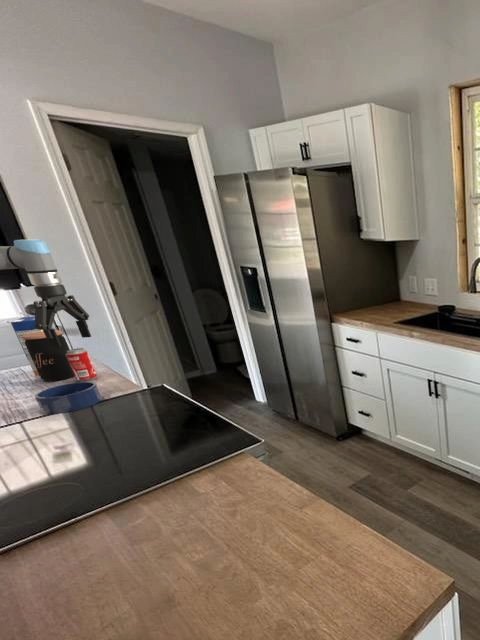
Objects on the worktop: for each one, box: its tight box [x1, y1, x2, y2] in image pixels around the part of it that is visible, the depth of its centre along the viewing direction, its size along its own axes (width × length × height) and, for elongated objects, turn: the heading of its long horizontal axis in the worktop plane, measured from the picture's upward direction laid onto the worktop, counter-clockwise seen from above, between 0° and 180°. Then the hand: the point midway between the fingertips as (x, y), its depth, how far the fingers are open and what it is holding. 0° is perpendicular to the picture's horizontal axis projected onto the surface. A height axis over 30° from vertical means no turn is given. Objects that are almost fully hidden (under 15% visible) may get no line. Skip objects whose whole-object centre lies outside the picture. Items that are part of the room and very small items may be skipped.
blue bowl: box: [34, 381, 103, 415], centre depth 137 cm, size 14×14×6 cm
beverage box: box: [10, 315, 53, 377], centre depth 167 cm, size 7×11×22 cm, turn 32°
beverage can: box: [66, 347, 98, 382], centre depth 159 cm, size 6×6×12 cm
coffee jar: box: [22, 329, 75, 383], centre depth 160 cm, size 11×11×18 cm
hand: (72, 341), depth 155 cm, fingers open, 13 cm apart
